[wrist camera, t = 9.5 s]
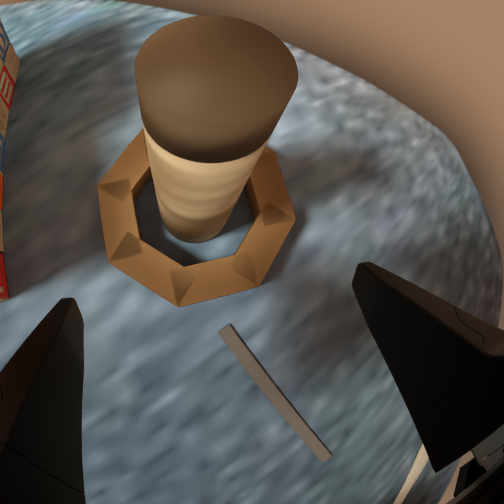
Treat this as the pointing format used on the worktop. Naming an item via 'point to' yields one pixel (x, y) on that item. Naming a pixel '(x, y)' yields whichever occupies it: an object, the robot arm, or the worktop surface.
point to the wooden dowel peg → (209, 114)
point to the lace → (272, 392)
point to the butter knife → (413, 474)
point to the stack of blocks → (3, 82)
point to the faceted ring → (203, 274)
